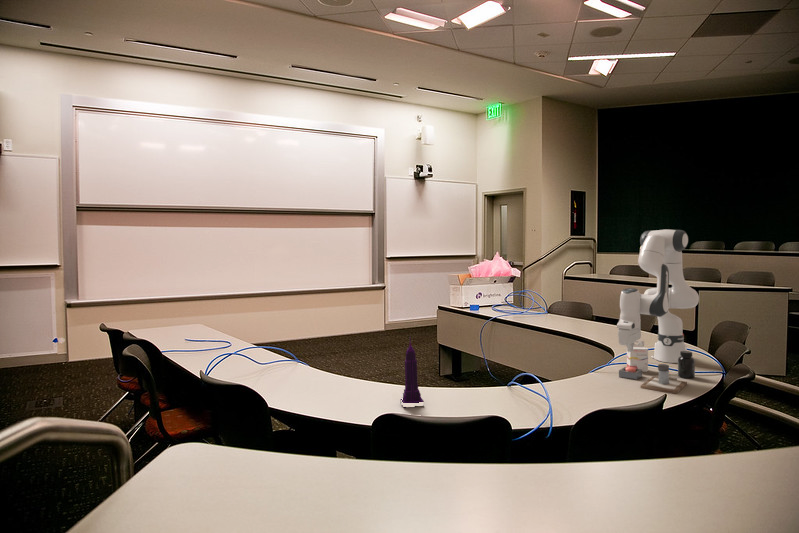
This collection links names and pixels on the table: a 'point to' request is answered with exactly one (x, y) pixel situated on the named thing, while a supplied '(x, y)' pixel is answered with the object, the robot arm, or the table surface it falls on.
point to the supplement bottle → (686, 365)
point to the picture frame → (672, 387)
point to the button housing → (630, 374)
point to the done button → (630, 369)
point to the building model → (411, 378)
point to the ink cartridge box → (638, 357)
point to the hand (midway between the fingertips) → (630, 351)
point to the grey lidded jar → (663, 373)
